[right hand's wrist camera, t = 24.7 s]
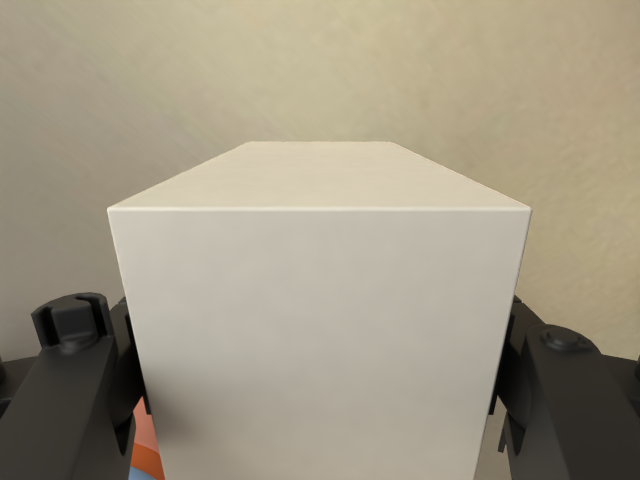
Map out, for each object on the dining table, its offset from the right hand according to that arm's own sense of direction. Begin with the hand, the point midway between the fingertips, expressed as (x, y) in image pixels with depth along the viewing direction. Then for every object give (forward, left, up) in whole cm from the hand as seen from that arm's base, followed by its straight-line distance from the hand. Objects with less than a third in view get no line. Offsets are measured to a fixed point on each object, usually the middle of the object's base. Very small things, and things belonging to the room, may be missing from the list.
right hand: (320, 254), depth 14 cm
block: (0, 0, -4) cm, 4 cm away
